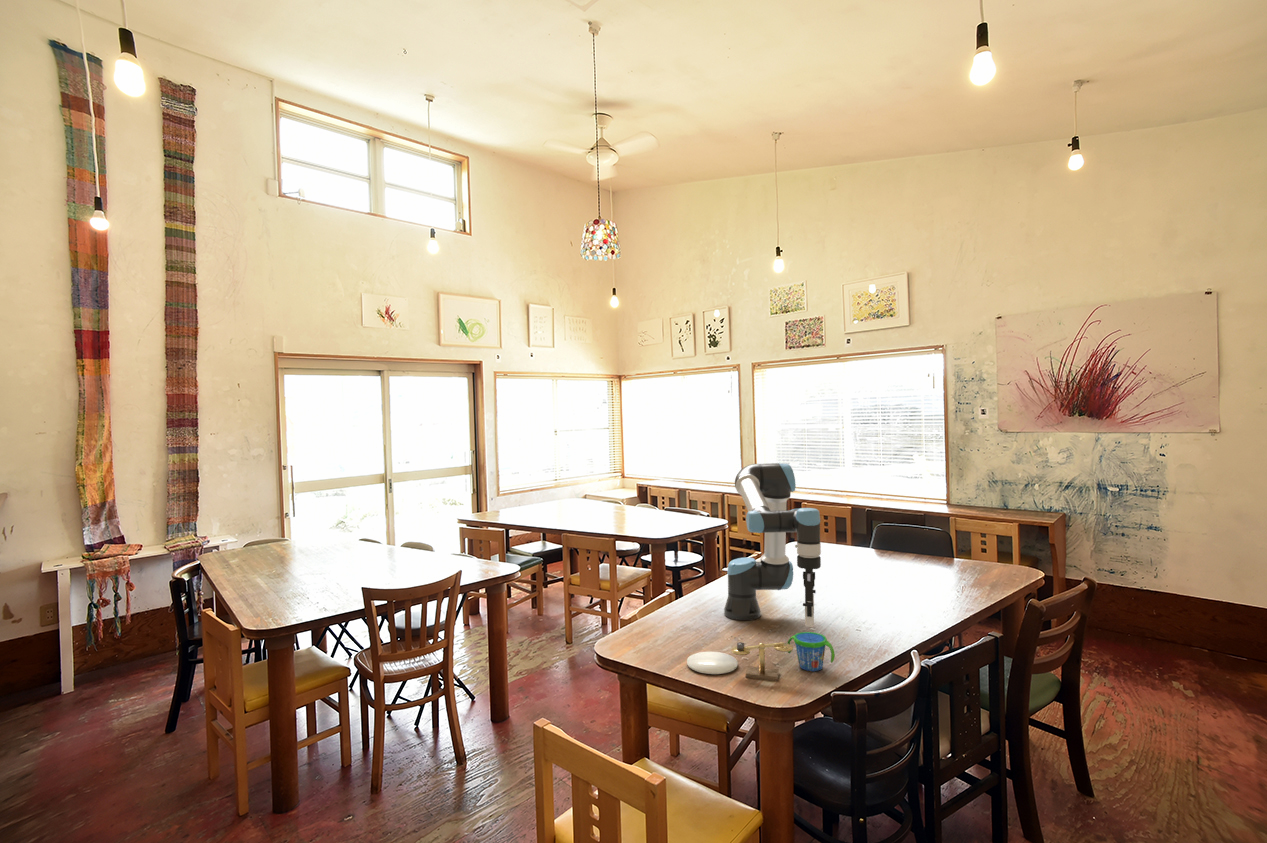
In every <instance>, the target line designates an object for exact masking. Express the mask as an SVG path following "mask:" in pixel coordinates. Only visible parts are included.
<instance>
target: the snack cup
mask: <svg viewBox="0 0 1267 843" xmlns="http://www.w3.org/2000/svg"><path fill="white" fill-rule="evenodd" d="M792 640H793V642H794V643H795V650H796V654H797V656H796V657H797V660H798V661H797V662H798V665H799V667H800V669H802V670H804V671H808V672H809V671H810V672H818V671H820V670H822V669H823V666H824V659H825V652H826V646H827V648H829V651H830V654H831V655H830V663H832V664H833V662H834V661H835V659H836V658H835V655H836V653H835V650H834V646H833V645H832V644H831V642H830V641H828V640H827V637H826V636H825V635H823V634H821V633H820V632H819V633H818V632H812V631H802V632H797V633H795V634H794V635H792V636H790V637H789V638H788V641H787V644H790V645H791V641H792ZM791 652H792V651H790V652H787V653H788V654H791Z"/></svg>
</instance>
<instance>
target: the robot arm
mask: <svg viewBox="0 0 1267 843" xmlns="http://www.w3.org/2000/svg"><path fill="white" fill-rule="evenodd" d="M796 485H797V484H796V478H795V473H794V470H793V467H792V465H790V464H789V463H780V462H776V463H751V464H747V465H746V466H743V467H742V469H740V470H739V472H738V473H737V475H736V476H735V478H734V487H735V490H736V492H737V493H738V494H739V496H741V498H742V499H743V502H744V505H745V507H746V510H747V513H746V516H745V522H746V528H747V531H748V532H749V533H756V534H762V533H764V548H763V549H764V552H763V554H762V555H761V556H760V561H757V560H756V559H755V558H754V557H738V558H735V559H732V560H731V561H729V563H728V564H727V571H726V572H727V573H726V574H727V598H726V601H725V605H724V609H723V610H724V611H723V612H724V613H723V614H724V616H726V618H727V619H728V618H729V619H731V620H737V621H753V620H756V619H759V618H760V617H761V615H762V614H761V607H760V604H759V602H758V598H757V591H781V590H788V589H790V587H792V584H793V582H794V581H793V580H794V566H793V563H792V561H790V558H789V557H788V556H787V555H786V546H787V544H786V540H787V538H786V537H787V534H786V533H796V544H794V547H795V548H797V549H796V552H797V557H796V563H797V564H796V566H797V567H798V568H800V569H804V570H805V571H802V580H803V588H804V602H803V603H802V606H803V607H804V623H805V627H813V628H814V626H815V615H814V614H815V594H816V593H817V592H816V589H815V587H816V586H815V581H816V571H814V570H818V569H820V568H821V567H822V566H821V565H822V562H821V561H822V560H821V555H822V554H821V552H822V550H821V517H820V516H821V515H820V510H819V509H817V508H813V507H800V508H793V509H789V510H787V501H788V500H789V499H790V498H791V493H794V492H795V491H796V487H797V486H796Z"/></svg>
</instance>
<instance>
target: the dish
mask: <svg viewBox="0 0 1267 843" xmlns="http://www.w3.org/2000/svg"><path fill="white" fill-rule="evenodd" d="M738 663H739V662H738V660H737V659H736V657H734V656H733V655H730V654H728V653H724V652H721V651H720V652H719V651H700V652H695V653H694V654H691V655H690V656H688V657H687V660H686V664H687V666H688V668H689V669H691V670H692V671H695V672H698V673H701V674H707V675H721V674H727V673H731V672H733V671H735V670H736V669H737V668H738Z"/></svg>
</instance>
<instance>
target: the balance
mask: <svg viewBox="0 0 1267 843" xmlns="http://www.w3.org/2000/svg"><path fill="white" fill-rule="evenodd" d="M787 643H788V642H787ZM787 643H786V642H784V641H782V642H781V641H780V642H773V643H766V644H765V643H764V642H759V643H758V644H756V645H748V646H745V643H744V642H741V641H740V642H737V643H736V646H734V647H731V654H734V655H736V656H747V655H749V654H750V653H751V650H756V649H758V663H759V664H758V666H750V665H748V666H747V667H746V672H745V678H747V679H756V680H757V679H758V680H764V681H765V680H766V681H767V680H768V681H769V680H770V681H776V682H777V681H778V679H779V669H777V668H769V667H766V658H765V657H766V652H765V651H766V648H772V647H773V649H774V650H775V651H776V652H777V651H778V652H780V653H781V652H782V653H788V652H790V651H791V652H792V651H793V650H794V646H793V645H792V644H791V643H790V644H787ZM791 652H790V653H791Z"/></svg>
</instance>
